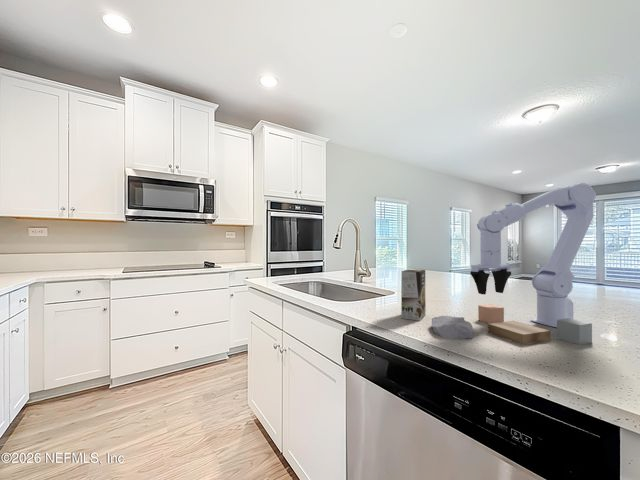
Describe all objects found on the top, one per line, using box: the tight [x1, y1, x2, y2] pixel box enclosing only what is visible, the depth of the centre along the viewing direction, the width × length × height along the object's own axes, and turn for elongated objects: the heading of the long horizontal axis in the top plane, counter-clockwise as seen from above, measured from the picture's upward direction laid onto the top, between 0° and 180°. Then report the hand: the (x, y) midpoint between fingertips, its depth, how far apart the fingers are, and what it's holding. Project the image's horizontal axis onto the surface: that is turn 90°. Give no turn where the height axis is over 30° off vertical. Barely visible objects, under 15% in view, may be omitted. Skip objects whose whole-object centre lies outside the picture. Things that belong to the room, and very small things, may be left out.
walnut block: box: [487, 320, 551, 346], centre depth 76 cm, size 10×10×3 cm
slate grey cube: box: [556, 318, 593, 345], centre depth 73 cm, size 5×5×5 cm
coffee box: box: [400, 269, 427, 322], centre depth 96 cm, size 9×6×16 cm
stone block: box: [431, 315, 474, 340], centre depth 80 cm, size 12×5×10 cm
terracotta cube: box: [477, 303, 505, 324], centre depth 90 cm, size 5×5×5 cm
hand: (490, 293), depth 90 cm, fingers open, 7 cm apart
